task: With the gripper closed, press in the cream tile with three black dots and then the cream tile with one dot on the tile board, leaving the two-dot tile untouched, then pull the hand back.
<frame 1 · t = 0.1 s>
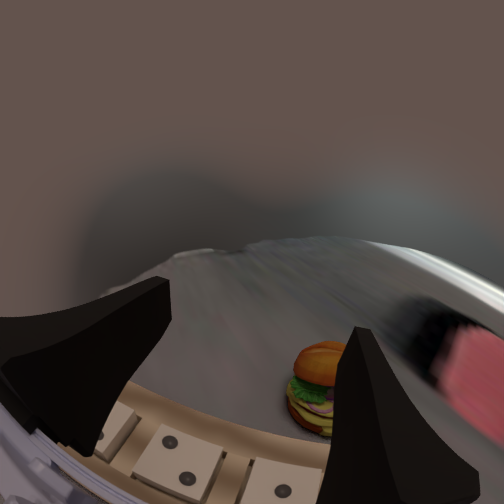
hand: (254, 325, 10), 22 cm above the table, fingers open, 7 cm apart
three dot tile: (97, 421, 19), point 4 cm above the table, slide at 0.0 cm
two dot tile: (179, 464, 17), point 4 cm above the table, slide at 0.0 cm
cheeseburger: (318, 404, 30), on the table
one dot tile: (279, 494, 16), point 4 cm above the table, slide at 0.0 cm
tile board: (181, 476, 19), on the table
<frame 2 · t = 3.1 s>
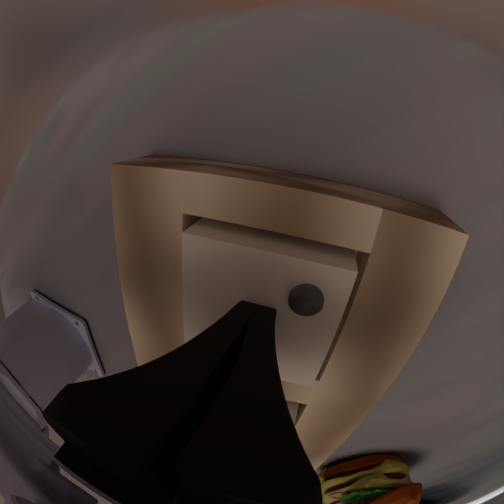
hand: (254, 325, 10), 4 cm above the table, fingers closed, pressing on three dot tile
three dot tile: (262, 305, 11), point 3 cm above the table, slide at 0.9 cm, touching gripper
two dot tile: (237, 424, 14), point 4 cm above the table, slide at 0.0 cm
cheeseburger: (371, 464, 20), on the table
tile board: (252, 384, 17), on the table
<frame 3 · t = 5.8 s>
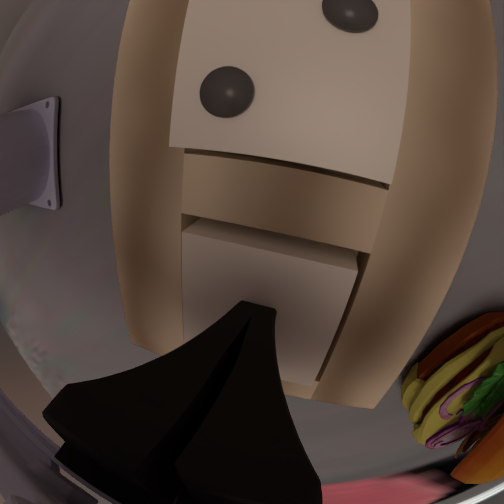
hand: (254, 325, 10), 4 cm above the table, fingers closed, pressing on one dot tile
two dot tile: (294, 58, 6), point 4 cm above the table, slide at 0.0 cm
cheeseburger: (474, 357, 12), on the table
one dot tile: (261, 304, 11), point 3 cm above the table, slide at 1.0 cm, touching gripper
tile board: (304, 81, 9), on the table
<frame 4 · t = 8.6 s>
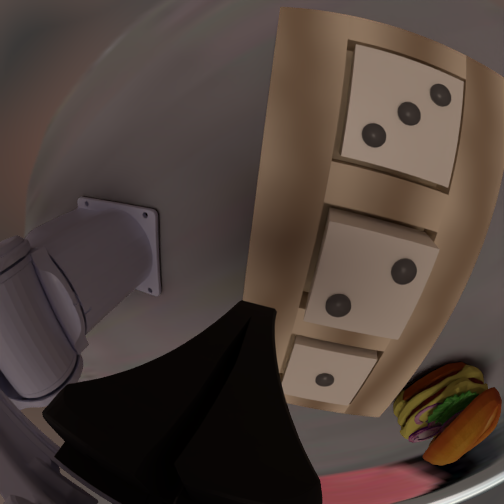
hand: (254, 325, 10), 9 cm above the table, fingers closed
three dot tile: (402, 115, 11), point 2 cm above the table, slide at 1.2 cm, touching tile board
two dot tile: (368, 277, 14), point 4 cm above the table, slide at 0.0 cm
cheeseburger: (442, 385, 20), on the table
one dot tile: (325, 368, 19), point 2 cm above the table, slide at 1.2 cm, touching tile board
tile board: (362, 251, 17), on the table
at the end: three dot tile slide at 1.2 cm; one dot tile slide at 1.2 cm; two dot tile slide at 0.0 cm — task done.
